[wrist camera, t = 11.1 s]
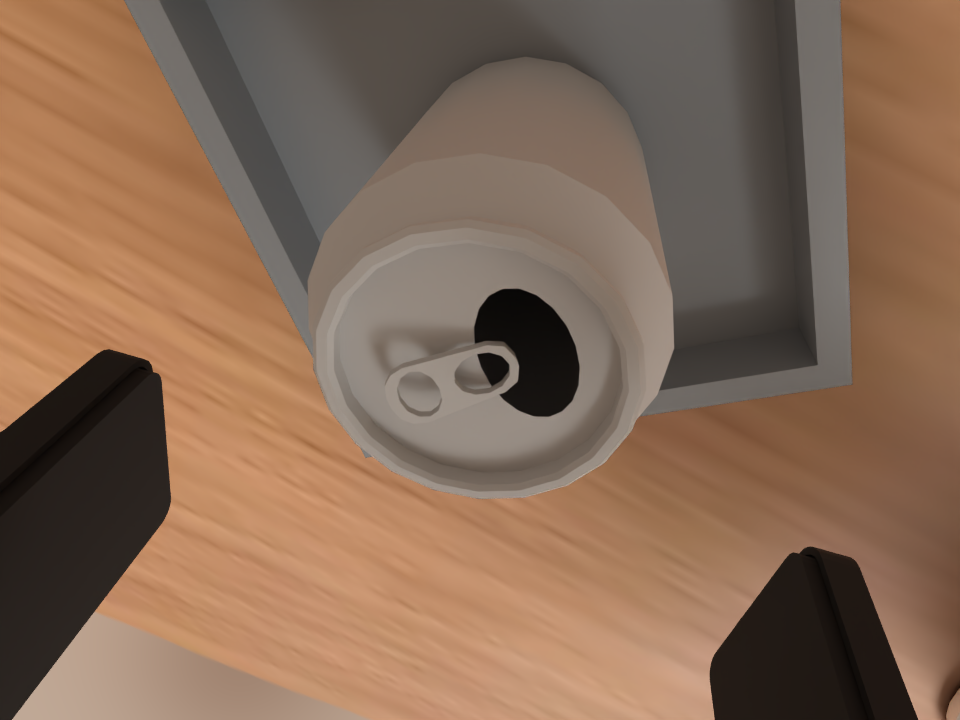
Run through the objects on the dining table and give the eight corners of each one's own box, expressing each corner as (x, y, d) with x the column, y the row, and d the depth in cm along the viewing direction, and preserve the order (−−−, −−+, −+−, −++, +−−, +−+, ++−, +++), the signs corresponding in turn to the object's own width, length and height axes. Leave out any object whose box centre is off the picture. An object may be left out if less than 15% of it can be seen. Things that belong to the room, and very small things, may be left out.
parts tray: (826, 336, 24) (852, 384, 22) (385, 412, 29) (365, 457, 27) (791, -310, 15) (829, -353, 13) (166, -38, 20) (108, -31, 18)
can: (663, 246, 23) (718, 503, 13) (461, 297, 25) (374, 549, 15) (612, 13, 19) (632, 121, 9) (380, 98, 21) (194, 257, 11)
